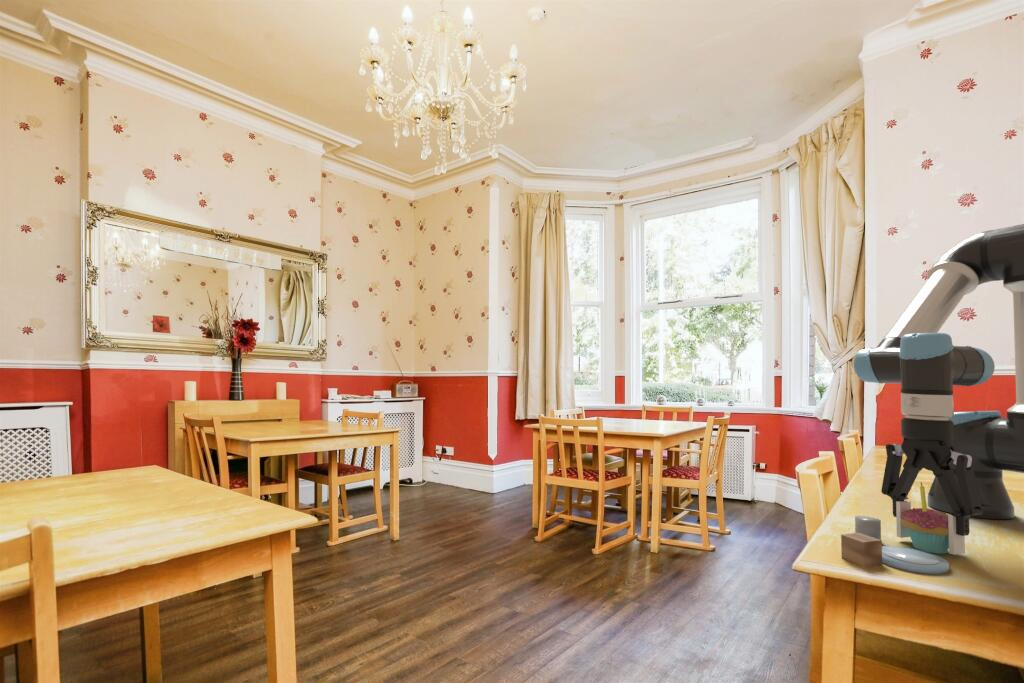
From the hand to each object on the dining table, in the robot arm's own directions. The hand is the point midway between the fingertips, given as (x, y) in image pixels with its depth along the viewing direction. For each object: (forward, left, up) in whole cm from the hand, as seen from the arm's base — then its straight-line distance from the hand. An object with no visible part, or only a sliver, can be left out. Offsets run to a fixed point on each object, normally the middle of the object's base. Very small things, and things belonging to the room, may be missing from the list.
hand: (929, 544), depth 93 cm
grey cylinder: (+6, -7, -1) cm, 9 cm away
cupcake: (0, 0, -1) cm, 1 cm away
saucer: (+10, +4, -1) cm, 11 cm away
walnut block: (+18, +1, -1) cm, 18 cm away
